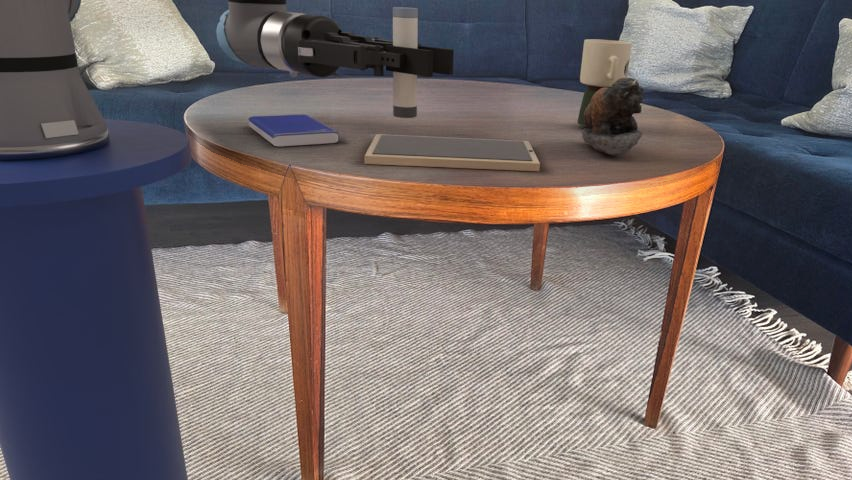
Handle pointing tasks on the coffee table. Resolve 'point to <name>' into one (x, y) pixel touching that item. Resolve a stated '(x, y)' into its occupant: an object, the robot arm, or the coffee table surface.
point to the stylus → (402, 82)
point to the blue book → (292, 130)
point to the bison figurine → (614, 117)
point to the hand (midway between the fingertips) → (440, 63)
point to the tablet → (452, 153)
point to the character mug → (602, 67)
